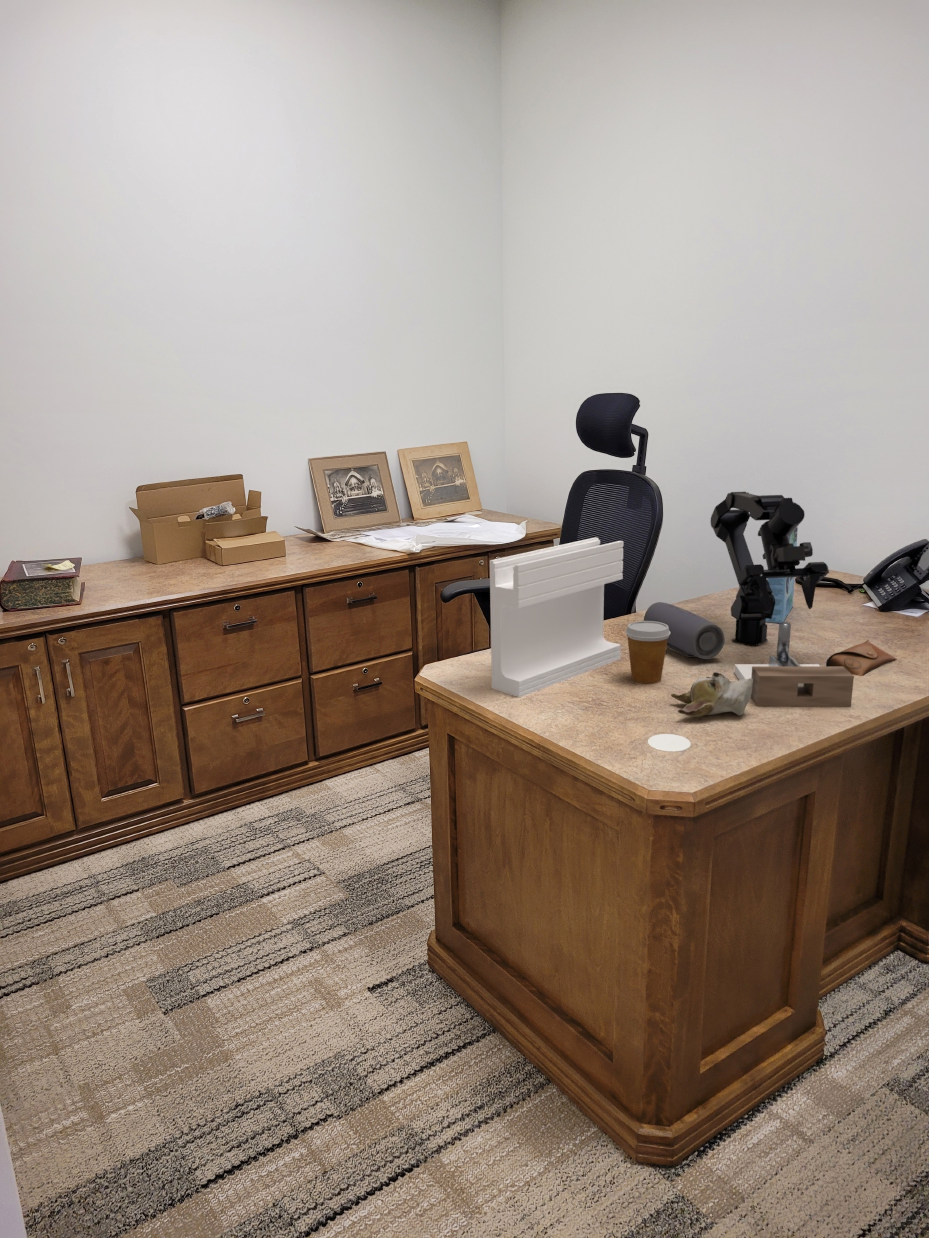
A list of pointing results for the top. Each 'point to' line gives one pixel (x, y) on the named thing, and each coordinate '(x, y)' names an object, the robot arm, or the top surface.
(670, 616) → the bluetooth speaker
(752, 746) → the top surface
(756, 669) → the door jamb
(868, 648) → the sunglasses case
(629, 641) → the disposable coffee cup
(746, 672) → the door panel
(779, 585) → the light blue flat box
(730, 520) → the robot arm
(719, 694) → the ceramic sculpture
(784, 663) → the bolt
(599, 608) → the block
